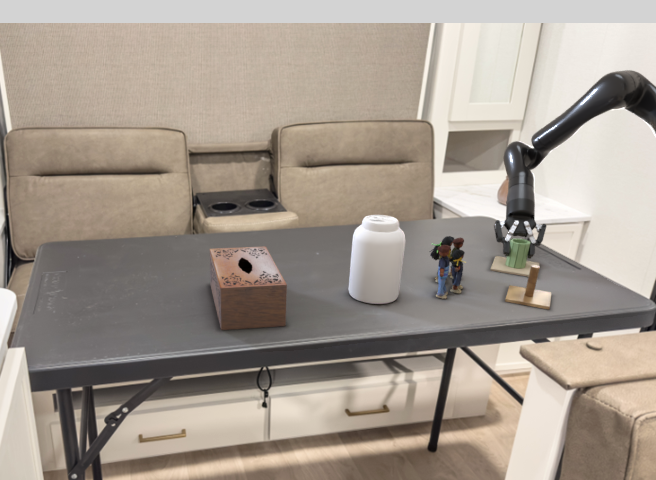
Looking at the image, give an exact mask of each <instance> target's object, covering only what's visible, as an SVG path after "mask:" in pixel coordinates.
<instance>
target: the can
mask: <svg viewBox="0 0 656 480" xmlns="http://www.w3.org/2000/svg"><path fill="white" fill-rule="evenodd" d="M405 249H406V235H405V232H404V231H403V229H401V227H400V221H399V219H397V218H396V217H394V216H392V215H387V214H370V215H366V216H364V217H363V219H362V221H361V224H360V225H359V226H357V227H356V228H355V229H354V232H353V234H352V243H351V255H350V265H349V267H350V268H349V278H348V294H349V295H350V296H351V297H352V298H353V299H354V300H357V301H359V302H362V303H367V304H373V305H374V304H375V305H383V304H389V303H392V302H394V301H396V300H397V299H398V297H399V295H400V289H401V280H402V272H403V265H404V264H403V263H404V256H405Z"/></svg>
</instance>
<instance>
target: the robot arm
mask: <svg viewBox="0 0 656 480" xmlns="http://www.w3.org/2000/svg"><path fill="white" fill-rule="evenodd" d="M616 110H617V111H618V110H625V111H627V112H629V113H631V114H632V115H635V116H636V117H637V118H639V119H640V120H642V121H643V122H644V123H646V124H647V126H648V127H649V128H650V129H651V131H652V133H653V135H654V136H655V137H656V85H655V84H654V83H653V82H652V81H650V80H649V79H648V78H647V77H646V76H644V74H642V73H640V72H639V71H636V70H632V69H629V70H628V69H626V70H616V71H612V72H608V73H606V74H604V75H603V76H602V77H601V78H599V79H598V80H597V81H596V82H595V83H594V84H593V85H592V86H591V87H589V88H588V90H587V91H586V92H585V93H584V94H583V95H581V97H579V98H578V99H577V100H576V101H575V102H574V103H573V104H572V105H570V106H569V107H568V108H567V109H565V110H564V111H563V112H562V113H561V114H559V115H558V116H556V117H555V118H554V119H552V120H551V121H549V122H548V123H547V124H545V125H544V126H542V127H541V128H539V129H538V130H537V131H536V132H535V133H533V135H532V136H531V139H530V142H531V145H529V144H527V143H526V142H523V141H520V140H514V141H512V142H510V143H509V144H508V145H507V146H506V148H505V149H504V152H503V157H502V158H503V166H504V168H505V172H506V176H507V179H508V182H507V185H508V186H507V195H506V201H505V203H506V204H505V219H504V220H502V221H500V220H499V219H496V220H495V222H494V224H493V230H494V234H495V239H496V242H497V243H501V244H502V254H503V255H504V256H505V257H507V256H509V253H510V240H511V239H512V237H520V238H521V237H522V238H523V239H525V240H528V241H530V247H529V252H528V256H527V259H528V260H529V259H532V258H533V257H534V256H535V253H536V246H537V247H540V246H541V244H542V243H543V241H544V237H545V234H546V229H547V224H546V223H542V224H540V223H537V221H536V220H535V217H536V216H535V213H536V193H535V178H536V177H535V173H533V171H534V170H535V169H536V168H538V167H539V166H540V165H541V164H542V162H543V161H544V160H545V159H546V158H547V156H548V155H549V154H550V153H551V152H552V151H554V150H556V149H557V148H558V147H561V146H562V145H563V144H565V143H566V142H567V141H569V140H570V139H571V138H572V137H573V136H575V135H576V134H577V132H578V131H579V130H580V129H581V128H582V127H583V126H584V125H585V124H587V123H588V122H590V121H591V120H593V119H595V118H596V117H599V116H600V115H603V114H605V113H607V112H609V111H616ZM504 227H505V229H506V230H507V234H506V236H504V235H503V230H502V229H503V228H504ZM535 229H536V232H537V237H536V239H535V237H534V232H533V231H534V230H535Z"/></svg>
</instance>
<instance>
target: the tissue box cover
mask: <svg viewBox="0 0 656 480" xmlns="http://www.w3.org/2000/svg"><path fill="white" fill-rule="evenodd" d="M209 281H210V283H209V284H210V289H211V295H212V298H213V301H214V306H215V311H216V315H217V319H218V322H219V327H220V330H221V331H226V330H227V331H229V330H244V329H258V328H272V327H273V328H274V327H276V328H277V327H285V326H286V323H287V322H286V321H287V320H286V319H287V293H288V292H287V291H288V289H287V288H288V284H287V282H286V280H285V279H284V277H283V275H282V273H281V271H280V269H279V268H278V266H277V264H276V263H275V261H274V259H273V257H272V255H271V253H270V251H269V249H268V247H267V246H264V245H263V246H247V247H246V246H244V247H222V248H221V247H219V248H218V247H217V248H216V247H215V248H209Z"/></svg>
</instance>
